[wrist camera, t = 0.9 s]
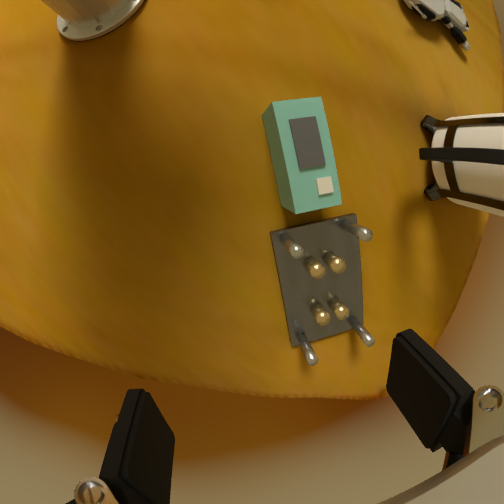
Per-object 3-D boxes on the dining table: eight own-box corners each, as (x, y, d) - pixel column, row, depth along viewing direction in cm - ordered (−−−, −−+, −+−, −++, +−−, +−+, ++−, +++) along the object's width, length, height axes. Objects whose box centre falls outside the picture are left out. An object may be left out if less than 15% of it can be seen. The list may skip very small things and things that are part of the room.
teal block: (261, 115, 27) (272, 101, 21) (302, 109, 27) (322, 96, 21) (281, 205, 30) (296, 214, 24) (319, 197, 30) (343, 204, 24)
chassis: (269, 231, 30) (280, 245, 25) (353, 213, 31) (378, 222, 25) (290, 343, 35) (302, 371, 29) (360, 322, 35) (380, 345, 30)
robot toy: (453, 10, 23) (388, -36, 20) (469, 4, 19) (403, -47, 16) (458, 57, 26) (390, 8, 23) (477, 53, 22) (408, -3, 19)
